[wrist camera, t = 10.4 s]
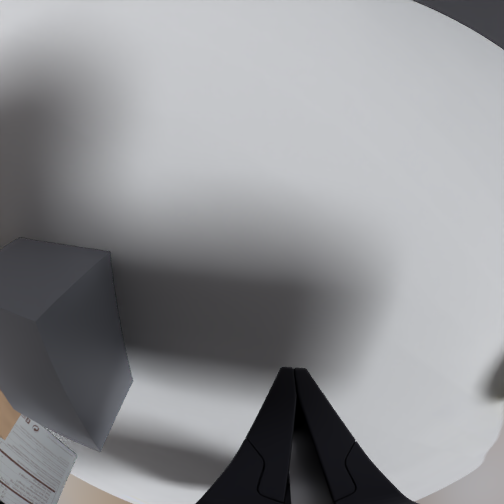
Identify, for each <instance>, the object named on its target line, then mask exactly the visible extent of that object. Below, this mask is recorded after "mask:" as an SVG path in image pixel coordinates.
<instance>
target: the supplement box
mask: <svg viewBox="0 0 504 504" xmlns="http://www.w3.org/2000/svg"><path fill="white" fill-rule="evenodd" d="M76 458H77V456H76V454H75V453H74V452H73V451H71V450H70V449H69V448H68V447H66V446H65V445H64V444H63V443H62V442H60V441H59V440H58V439H57V438H56V437H55V436H53V435H52V434H51V433H50V432H49V431H48V430H47V429H46V428H44V427H43V426H42V425H40V424H38V423H36V422H35V421H33V420H31V419H29V418H28V417H26V416H24V415H22V414H21V415H20V417H19V418H18V420H17V422H16V423H15V425H14V426H13V428H12V430H11V431H10V433H9V434H8V436H7V438H6V439H5V440H3V439H2V438H1V437H0V500H1V501H3V502H4V503H5V504H57V502H58V500H59V497H60V495H61V493H62V490H63V488H64V485H65V483H66V481H67V478H68V476H69V474H70V472H71V469H72V467H73V465H74V463H75V460H76Z"/></svg>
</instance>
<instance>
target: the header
mask: <svg viewBox="0 0 504 504" xmlns="http://www.w3.org/2000/svg"><path fill="white" fill-rule="evenodd" d="M20 415H21V413H19V412H17V411H16V410H14V409H13V408H12V406H11V405H10V403H9V402H8V400H7V399H6V397H5V396H4V394H3V393H2V391H1V389H0V437H1V438H2V439H3V440H5V439H6V438H7V436H8V434H9V433H10V431H11V430H12V428H13V426H14V425H15V423H16V422H17V420H18V418H19V417H20Z"/></svg>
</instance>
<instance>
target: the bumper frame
mask: <svg viewBox="0 0 504 504" xmlns="http://www.w3.org/2000/svg"><path fill="white" fill-rule="evenodd" d="M414 1H416V2H419V3H421V4H424V5H426V6H428V7H430V8H433V9H435V10H437V11H439V12H441V13H443V14H445V15H447V16H449V17H451V18H453V19H455V20H457V21H459V22H461V23H462V24H464V25H466V26H468V27H470V28H471V29H473V30H475V31H476V32H478V33H480V34H481V35H483V36H485V37H486V38H488V39H489V40H491V41H492V42H494V43H495V44H497V45H498V46H500V47H501V48H503V49H504V0H414Z"/></svg>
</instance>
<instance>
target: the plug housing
mask: <svg viewBox="0 0 504 504" xmlns="http://www.w3.org/2000/svg"><path fill="white" fill-rule="evenodd" d="M132 382H133V378H132V374H131V370H130V366H129V362H128V358H127V354H126V349H125V345H124V340H123V335H122V330H121V325H120V319H119V314H118V308H117V302H116V296H115V289H114V282H113V274H112V266H111V257H110V251H103V250H96V249H90V248H83V247H76V246H69V245H63V244H56V243H50V242H43V241H37V240H31V239H24V238H18V239H16V240H14V241H13V242H11V243H10V244H8V245H6V246H5V247H3V248H2V249H0V389H1V391H2V393H3V394H4V396H5V397H6V399H7V400H8V402H9V403H10V405H11V406H12V408H13V409H14V410H16V411H17V412H19V413H21V414H22V415H24V416H26V417H28V418H29V419H31V420H33V421H35V422H36V423H38V424H40V425H42V426H44V427H46V428H48V429H50V430H52V431H54V432H56V433H58V434H60V435H62V436H64V437H66V438H68V439H71V440H73V441H75V442H77V443H80V444H82V445H84V446H87V447H89V448H92V449H94V450H97V451H99V452H101V450H102V447H103V445H104V443H105V440H106V438H107V436H108V434H109V431H110V429H111V427H112V425H113V423H114V420H115V418H116V416H117V414H118V412H119V410H120V407H121V405H122V403H123V401H124V399H125V397H126V395H127V393H128V391H129V388H130V386H131V384H132Z"/></svg>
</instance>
